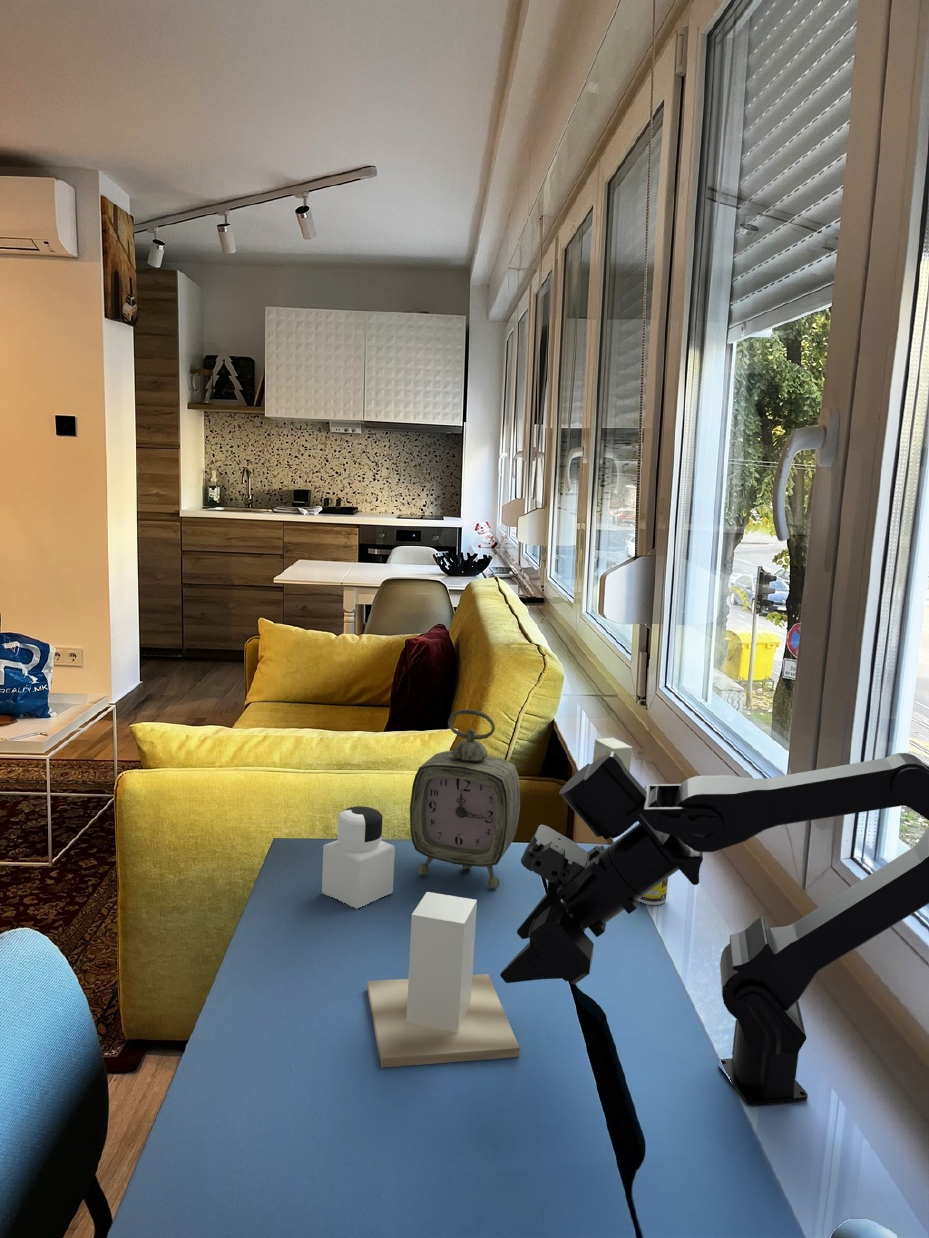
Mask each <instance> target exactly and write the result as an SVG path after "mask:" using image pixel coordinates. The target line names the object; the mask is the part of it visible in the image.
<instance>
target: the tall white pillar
mask: <svg viewBox="0 0 929 1238" xmlns="http://www.w3.org/2000/svg"><path fill="white" fill-rule="evenodd" d="M477 904H478V899H474V898H473V899H472V898H467V897H461V896H456V895H449V894H443V893H437V892H430V891H426V892H425V894H424V895H423V897H422V899H421V900H420V901H419V903H418V904H417V906H416V908H415V909H414V910H413V912H412V913H411V921H410V941H409V943H410V945H409V962H408V966H409V967H408V979H409V980H408V1000H407V1020H406V1022H408V1023H413V1024H418V1025H423V1026H429V1027H434V1028H439V1029H444V1030H449V1031H454V1032H459V1029H460V1027H461V1025H462V1022H463V1020H464V1018H465V1015H466V1013H467V1011H468V1009H469V1006H470V1004H471V991H472V975H474V974H473V973H474V954H475V941H476V926H477V925H476V924H477V908H478V907H477Z"/></svg>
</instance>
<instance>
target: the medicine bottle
mask: <svg viewBox="0 0 929 1238" xmlns="http://www.w3.org/2000/svg"><path fill="white" fill-rule="evenodd" d="M383 818H384V817H383V814H382V813H381V812H380V811H379V810H378V809H375V808H373V807H368V806H363V805H361V806H359V805H358V806H350V807H348V808H346V809H343V810H341V811H340V813H338V815H337V836H336V837H337V838H336V839H337V840H334V841H331V842H328V843H325V844H324V845H323V846H322V848H323V851H322V878H321V893H322V894H323V895H325V896H327V897H329V896H330V897H329V898H331V897H333V898H335V899H338V900H339V901H342V902H343V903H342V902H341V903H342V904H344V903H346V904H348V905H349V906H348V905H347V906H348V907H350V906H351V908H352V907H355V908H359V907H362V906H364V907H366V906H368V905H367V904H369V903H370V902H372V901H374V900H376V899H379V898H380V897H384V896H386V895H388V894H391V893H392V892H393V893H394V878H395V877H394V873H395V856H396V855H395V852H396V847H395V845H394V844H391V843H389V842H385V841H384V840H382V838H383ZM393 893H392V894H393ZM392 894H391V895H392ZM386 897H387V896H386ZM333 898H332V899H333ZM384 898H385V897H384ZM335 899H334V900H335ZM339 901H338V902H339ZM346 904H345V905H346ZM365 905H366V906H365ZM369 905H370V904H369ZM362 908H363V907H362Z"/></svg>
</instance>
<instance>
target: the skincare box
mask: <svg viewBox="0 0 929 1238" xmlns="http://www.w3.org/2000/svg"><path fill="white" fill-rule="evenodd" d="M593 747H594V748H593V756H592V757H593V758H592V763H593V762H594V761H596V760H598V759H600V758H603V757H605V756H606V755H608V754H609V753H610V752H615V753H616V754H617V755H618V757H619V758H620V759H621V760H622V762H623V764H624V766H625V767H626V769H627V770H628V771H629V772H630V773H631V764H632V753H633V752H632V751H633V746H631V745H629V744H627V743H625V742H623V741H621V740H619V739H617V738H616V737H603V738H602V737H601V738H595V739H594V746H593Z"/></svg>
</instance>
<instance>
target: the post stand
mask: <svg viewBox="0 0 929 1238" xmlns="http://www.w3.org/2000/svg"><path fill="white" fill-rule="evenodd" d="M408 980H409V978H400V979H383V980H379V979H378V980H367V984H366V985H367V987H366V989H367V997H368V1002H369V1007H370V1012H371V1017H372V1022H373V1023H372V1024H373V1031H374V1034H375V1041H376V1046H377V1050H378V1051H377V1052H378V1056H379V1062H380V1068H382V1069H383V1068H394V1067H396V1068H397V1067H408V1066H409V1067H410V1066H418V1065H431V1064H434V1065H435V1064H446V1063H447V1064H448V1063H455V1062H459V1063H460V1062H470V1061H471V1062H472V1061H482V1060H483V1061H485V1060H486V1061H487V1060H495V1059H496V1060H497V1059H498V1060H499V1059H507V1058H508V1059H510V1058H519V1057H520V1045H519V1043H518V1040H517V1038H516V1036H515V1033H514V1032H513V1028H512V1027H511V1024H510V1021H509V1019H508V1017H507V1015H506V1012H505V1010H504V1007H503V1005H502V1003H501V1001H500V999H499V998H500V997H499V996H498V993H497V990H496V989H495V985H494V984H493V982H492V980H491V977H490V975H489V973H486V974H483V973H481V974H473V975H472V991H471V1004H470V1006H469V1009H468V1011H467V1013H466V1015H465V1018H464V1020H463V1022H462V1025H461V1027H460V1029H459V1032H454V1031H449V1030H444V1029H439V1028H434V1027H429V1026H423V1025H418V1024H413V1023H408V1022H406V1020H407V1000H408Z"/></svg>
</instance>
